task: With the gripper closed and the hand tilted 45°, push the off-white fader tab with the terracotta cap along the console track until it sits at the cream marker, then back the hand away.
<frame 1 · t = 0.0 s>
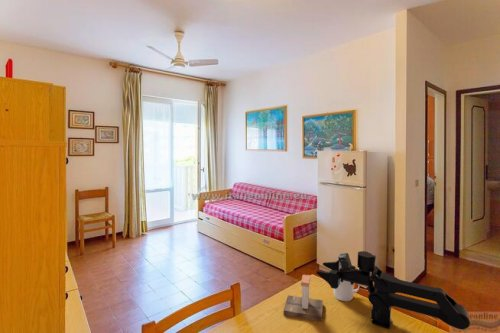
hand: (319, 267, 124), 17 cm above the table, tool horizontal, fingers open, 9 cm apart
fader console: (303, 309, 121), on the table
fader tab: (305, 291, 120), point 8 cm above the table, slide at 0.0 cm
mug: (346, 296, 131), on the table
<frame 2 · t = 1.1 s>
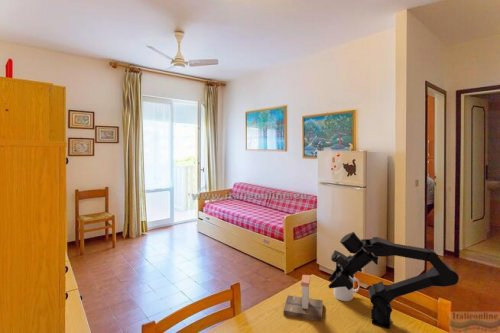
hand: (329, 283, 117), 13 cm above the table, tool tilted 45°, fingers open, 6 cm apart
nothing on the table moved.
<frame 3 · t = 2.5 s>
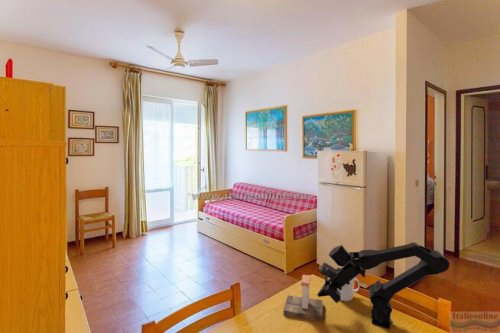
hand: (318, 295, 119), 7 cm above the table, tool tilted 45°, fingers closed
nothing on the table moved.
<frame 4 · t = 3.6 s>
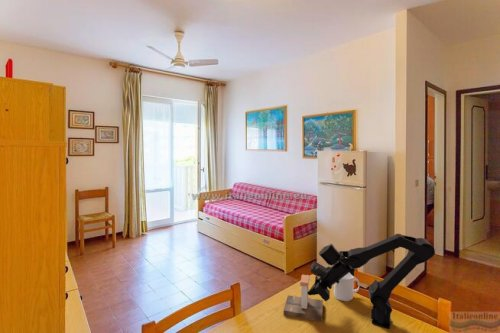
hand: (308, 294, 120), 7 cm above the table, tool tilted 45°, fingers closed, pressing on fader tab
fader tab: (304, 291, 120), point 8 cm above the table, slide at 0.3 cm, touching gripper
everything else where it was.
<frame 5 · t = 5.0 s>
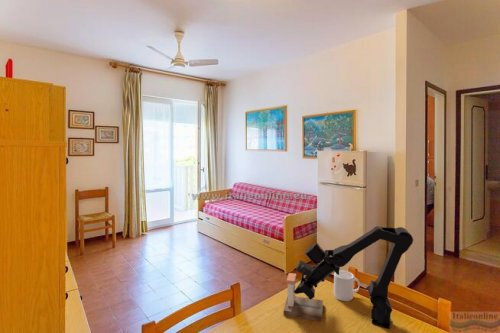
hand: (294, 292, 122), 7 cm above the table, tool tilted 45°, fingers closed
fader tab: (291, 289, 122), point 8 cm above the table, slide at 6.1 cm
everything else where it was.
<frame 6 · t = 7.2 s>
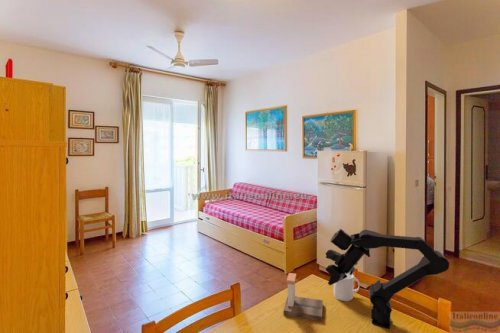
hand: (329, 284, 118), 12 cm above the table, tool tilted 35°, fingers closed
nothing on the table moved.
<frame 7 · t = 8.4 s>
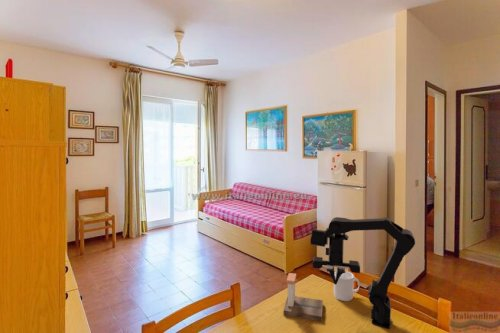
hand: (335, 283, 119), 12 cm above the table, tool pointing down, fingers closed
nothing on the table moved.
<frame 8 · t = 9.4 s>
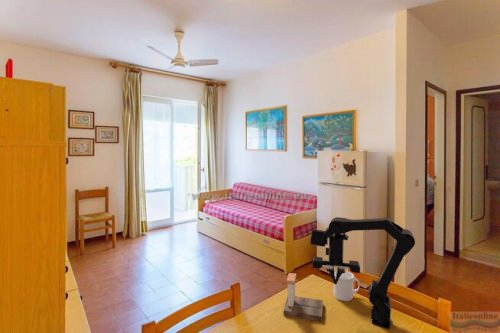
hand: (335, 283, 119), 12 cm above the table, tool pointing down, fingers closed
nothing on the table moved.
at the end: fader tab slide at 6.1 cm; mug moved 0.2 cm from its start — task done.
